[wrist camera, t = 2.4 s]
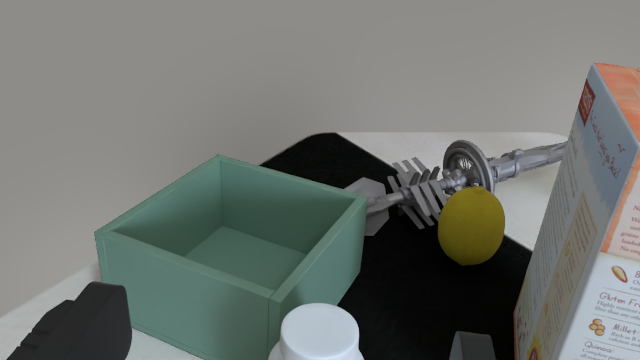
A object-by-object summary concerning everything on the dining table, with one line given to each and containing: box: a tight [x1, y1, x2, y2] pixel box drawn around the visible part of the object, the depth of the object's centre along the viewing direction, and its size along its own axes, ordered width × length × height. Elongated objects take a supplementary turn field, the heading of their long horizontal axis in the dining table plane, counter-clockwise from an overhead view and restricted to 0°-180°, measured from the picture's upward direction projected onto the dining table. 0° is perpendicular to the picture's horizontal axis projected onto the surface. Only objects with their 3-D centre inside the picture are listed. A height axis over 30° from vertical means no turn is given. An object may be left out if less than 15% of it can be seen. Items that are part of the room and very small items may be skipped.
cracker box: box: [514, 63, 640, 360], centre depth 32 cm, size 14×6×21 cm, turn 163°
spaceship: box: [344, 140, 567, 236], centre depth 56 cm, size 8×35×8 cm
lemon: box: [438, 186, 505, 266], centre depth 47 cm, size 6×6×8 cm
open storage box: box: [94, 154, 369, 360], centre depth 42 cm, size 15×15×8 cm
